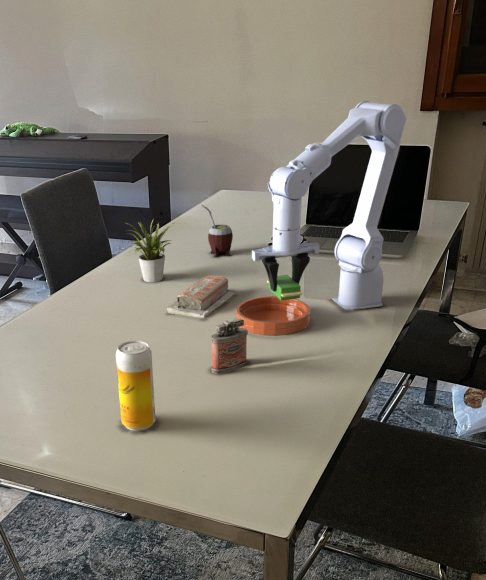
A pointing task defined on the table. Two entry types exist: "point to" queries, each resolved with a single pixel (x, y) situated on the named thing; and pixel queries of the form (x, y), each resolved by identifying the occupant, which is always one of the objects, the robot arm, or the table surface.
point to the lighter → (229, 347)
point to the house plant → (151, 254)
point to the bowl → (273, 315)
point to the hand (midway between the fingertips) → (284, 288)
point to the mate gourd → (219, 238)
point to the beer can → (135, 385)
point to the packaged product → (202, 297)
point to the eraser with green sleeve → (286, 288)
